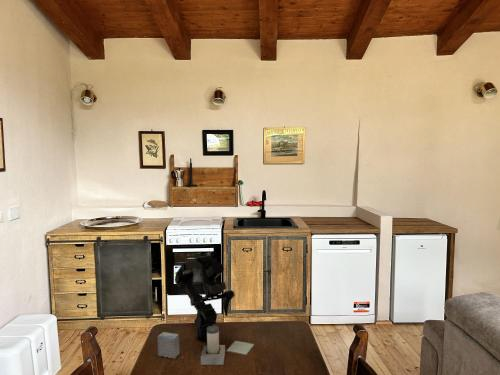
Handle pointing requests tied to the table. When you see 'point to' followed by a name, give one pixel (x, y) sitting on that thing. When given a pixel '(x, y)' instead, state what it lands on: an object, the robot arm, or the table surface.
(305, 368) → the table surface
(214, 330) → the plug
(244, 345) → the mat
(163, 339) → the medicine box
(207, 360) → the housing
